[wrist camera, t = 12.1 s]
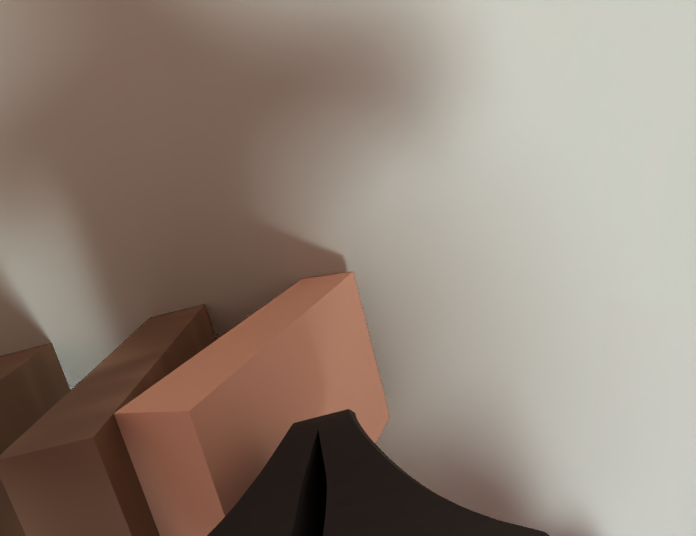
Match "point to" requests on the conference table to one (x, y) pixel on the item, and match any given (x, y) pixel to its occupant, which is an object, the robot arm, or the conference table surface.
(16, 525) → the tile
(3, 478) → the brown rectangular block
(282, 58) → the conference table surface
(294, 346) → the tile
